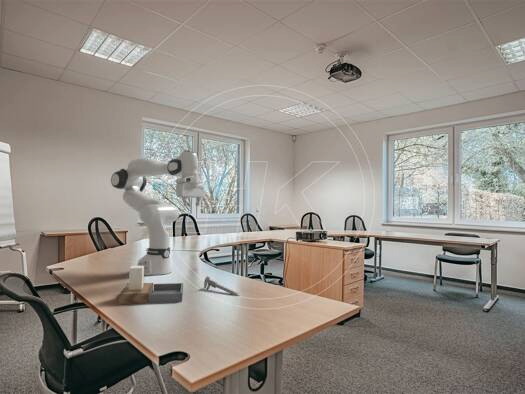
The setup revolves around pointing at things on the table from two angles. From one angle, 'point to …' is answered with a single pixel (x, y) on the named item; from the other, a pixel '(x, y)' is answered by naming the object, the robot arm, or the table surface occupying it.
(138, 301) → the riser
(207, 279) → the caliper
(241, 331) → the table surface
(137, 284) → the block
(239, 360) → the table surface
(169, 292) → the bin
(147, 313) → the table surface
